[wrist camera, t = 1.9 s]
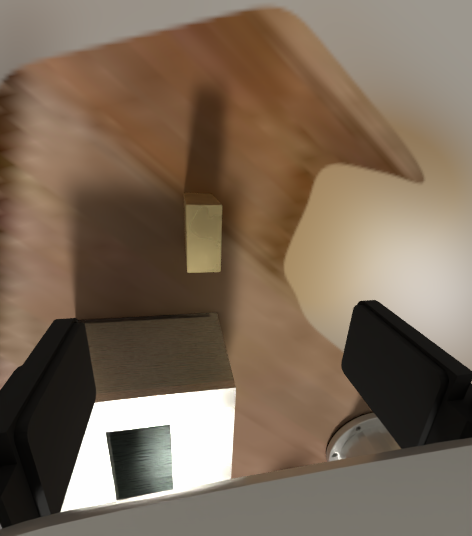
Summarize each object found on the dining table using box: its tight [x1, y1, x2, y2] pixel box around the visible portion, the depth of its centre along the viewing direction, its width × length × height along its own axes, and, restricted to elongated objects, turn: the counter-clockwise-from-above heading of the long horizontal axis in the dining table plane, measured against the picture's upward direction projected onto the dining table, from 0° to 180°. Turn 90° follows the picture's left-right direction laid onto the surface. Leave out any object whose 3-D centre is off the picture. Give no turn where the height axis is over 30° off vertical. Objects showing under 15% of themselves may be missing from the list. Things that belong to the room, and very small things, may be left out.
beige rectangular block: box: [184, 193, 222, 273], centre depth 24 cm, size 2×5×7 cm, turn 177°
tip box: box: [61, 312, 236, 512], centre depth 27 cm, size 14×14×11 cm
